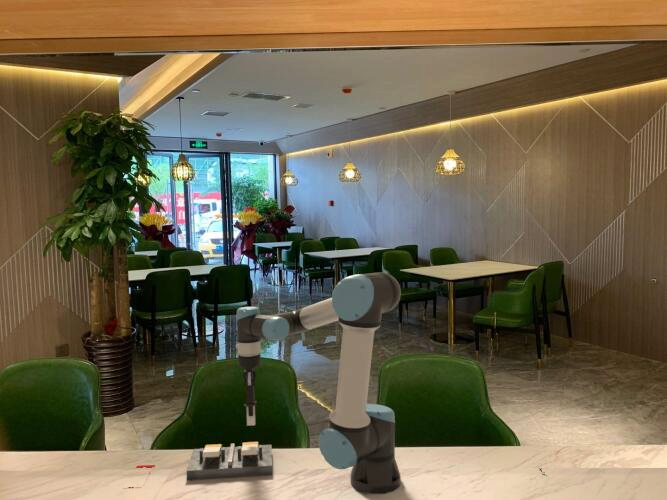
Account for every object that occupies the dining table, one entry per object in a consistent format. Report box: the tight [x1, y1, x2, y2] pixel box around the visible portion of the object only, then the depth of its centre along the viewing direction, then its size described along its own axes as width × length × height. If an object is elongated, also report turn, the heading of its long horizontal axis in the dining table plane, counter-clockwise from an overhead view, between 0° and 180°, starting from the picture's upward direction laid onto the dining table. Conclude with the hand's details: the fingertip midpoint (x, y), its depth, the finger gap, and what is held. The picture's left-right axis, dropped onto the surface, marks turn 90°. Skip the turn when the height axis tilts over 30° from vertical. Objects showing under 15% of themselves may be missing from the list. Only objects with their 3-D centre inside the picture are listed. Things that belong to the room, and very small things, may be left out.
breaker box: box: [186, 443, 273, 481], centre depth 172 cm, size 16×26×6 cm, turn 97°
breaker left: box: [203, 443, 223, 457], centre depth 171 cm, size 10×5×2 cm, turn 7°
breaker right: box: [241, 441, 259, 455], centre depth 173 cm, size 10×5×2 cm, turn 7°
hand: (251, 424), depth 176 cm, fingers closed
